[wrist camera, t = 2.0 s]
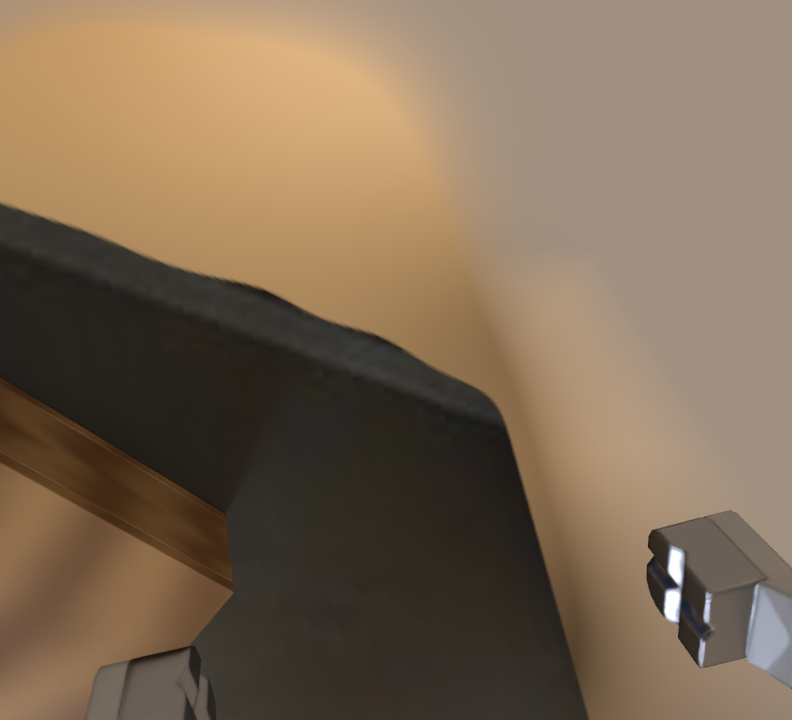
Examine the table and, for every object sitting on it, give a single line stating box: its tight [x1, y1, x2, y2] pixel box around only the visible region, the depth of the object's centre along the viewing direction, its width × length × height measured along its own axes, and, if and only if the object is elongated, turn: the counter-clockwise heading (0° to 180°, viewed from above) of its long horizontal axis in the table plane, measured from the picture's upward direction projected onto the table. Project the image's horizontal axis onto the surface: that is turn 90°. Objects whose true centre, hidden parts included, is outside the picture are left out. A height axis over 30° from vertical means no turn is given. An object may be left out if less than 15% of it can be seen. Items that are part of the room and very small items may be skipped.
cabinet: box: [0, 377, 234, 720], centre depth 36 cm, size 16×15×8 cm
